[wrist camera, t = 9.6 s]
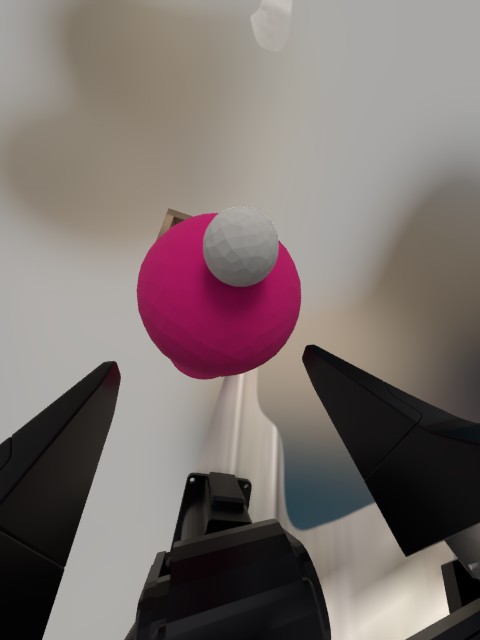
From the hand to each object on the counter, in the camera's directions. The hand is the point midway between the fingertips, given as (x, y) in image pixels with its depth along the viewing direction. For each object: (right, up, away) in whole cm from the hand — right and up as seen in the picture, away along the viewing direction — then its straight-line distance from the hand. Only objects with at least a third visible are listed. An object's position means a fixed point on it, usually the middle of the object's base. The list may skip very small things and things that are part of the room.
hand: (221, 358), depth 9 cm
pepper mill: (-3, -1, +14) cm, 14 cm away
